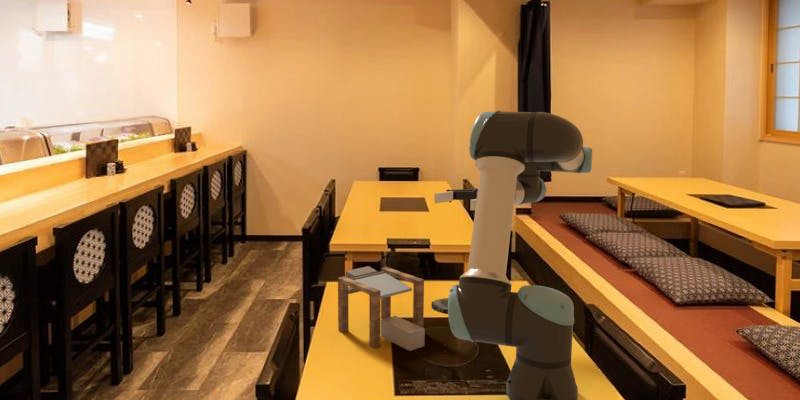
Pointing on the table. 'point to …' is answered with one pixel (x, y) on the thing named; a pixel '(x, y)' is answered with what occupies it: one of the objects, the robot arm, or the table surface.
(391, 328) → the granite block
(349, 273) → the flap
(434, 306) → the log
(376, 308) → the trapdoor frame
